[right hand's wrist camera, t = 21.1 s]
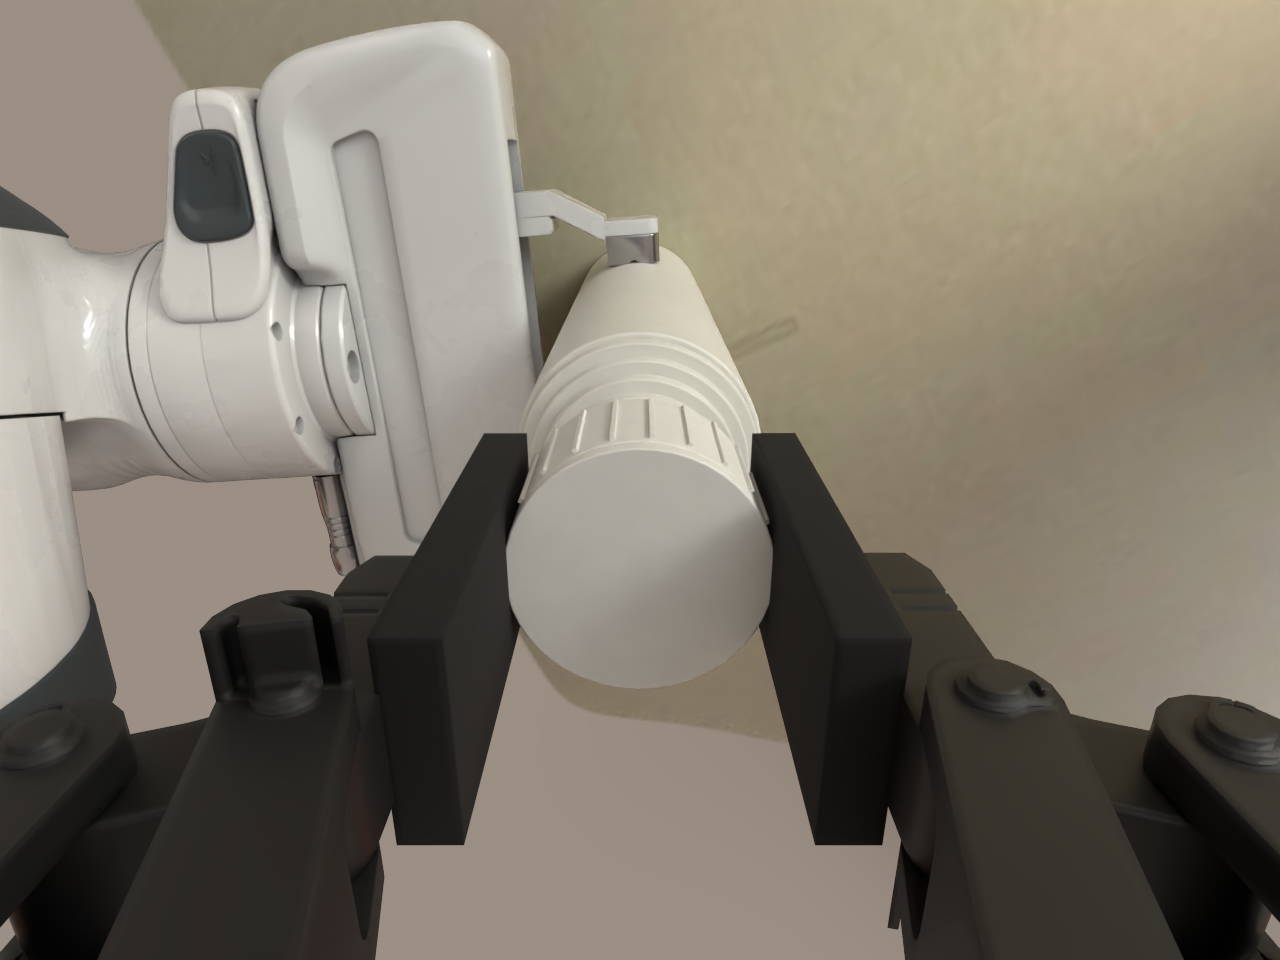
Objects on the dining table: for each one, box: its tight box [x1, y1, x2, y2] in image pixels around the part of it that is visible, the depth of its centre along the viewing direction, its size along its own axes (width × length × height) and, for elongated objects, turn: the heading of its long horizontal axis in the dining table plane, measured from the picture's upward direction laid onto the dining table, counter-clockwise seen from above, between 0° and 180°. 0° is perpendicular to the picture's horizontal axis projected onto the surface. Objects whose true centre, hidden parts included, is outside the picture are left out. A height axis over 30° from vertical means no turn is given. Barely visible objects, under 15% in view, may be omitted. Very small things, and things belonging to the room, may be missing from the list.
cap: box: [506, 397, 773, 689], centre depth 13 cm, size 4×4×3 cm
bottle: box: [519, 246, 761, 473], centre depth 24 cm, size 5×5×24 cm
